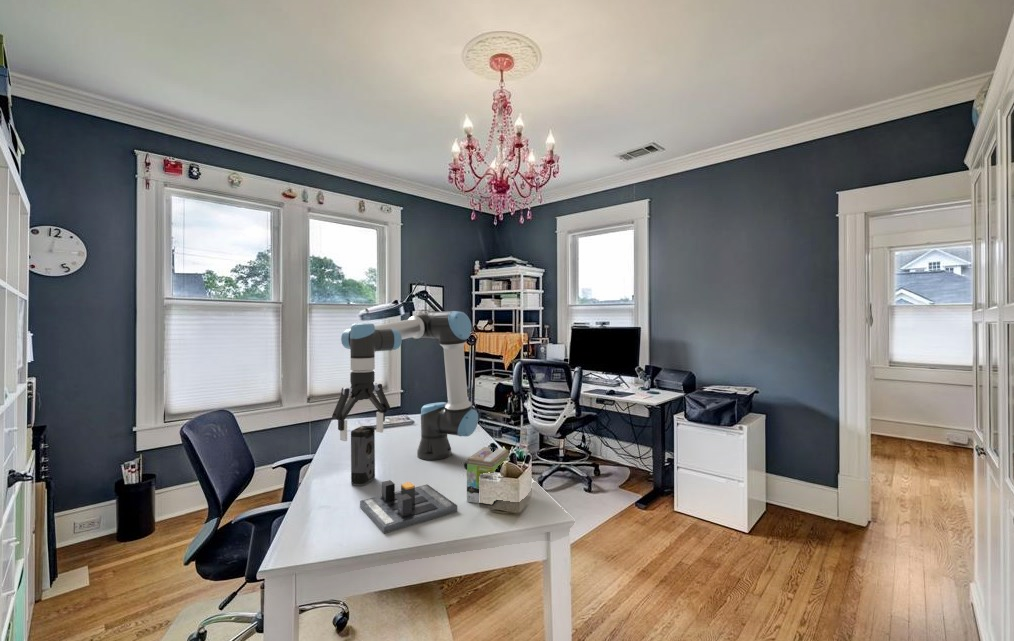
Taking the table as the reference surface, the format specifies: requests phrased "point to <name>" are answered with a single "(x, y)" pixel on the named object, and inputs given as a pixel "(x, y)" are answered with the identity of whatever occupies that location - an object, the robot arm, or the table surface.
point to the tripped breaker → (408, 490)
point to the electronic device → (362, 455)
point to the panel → (409, 519)
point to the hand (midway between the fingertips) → (362, 436)
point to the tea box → (482, 469)
